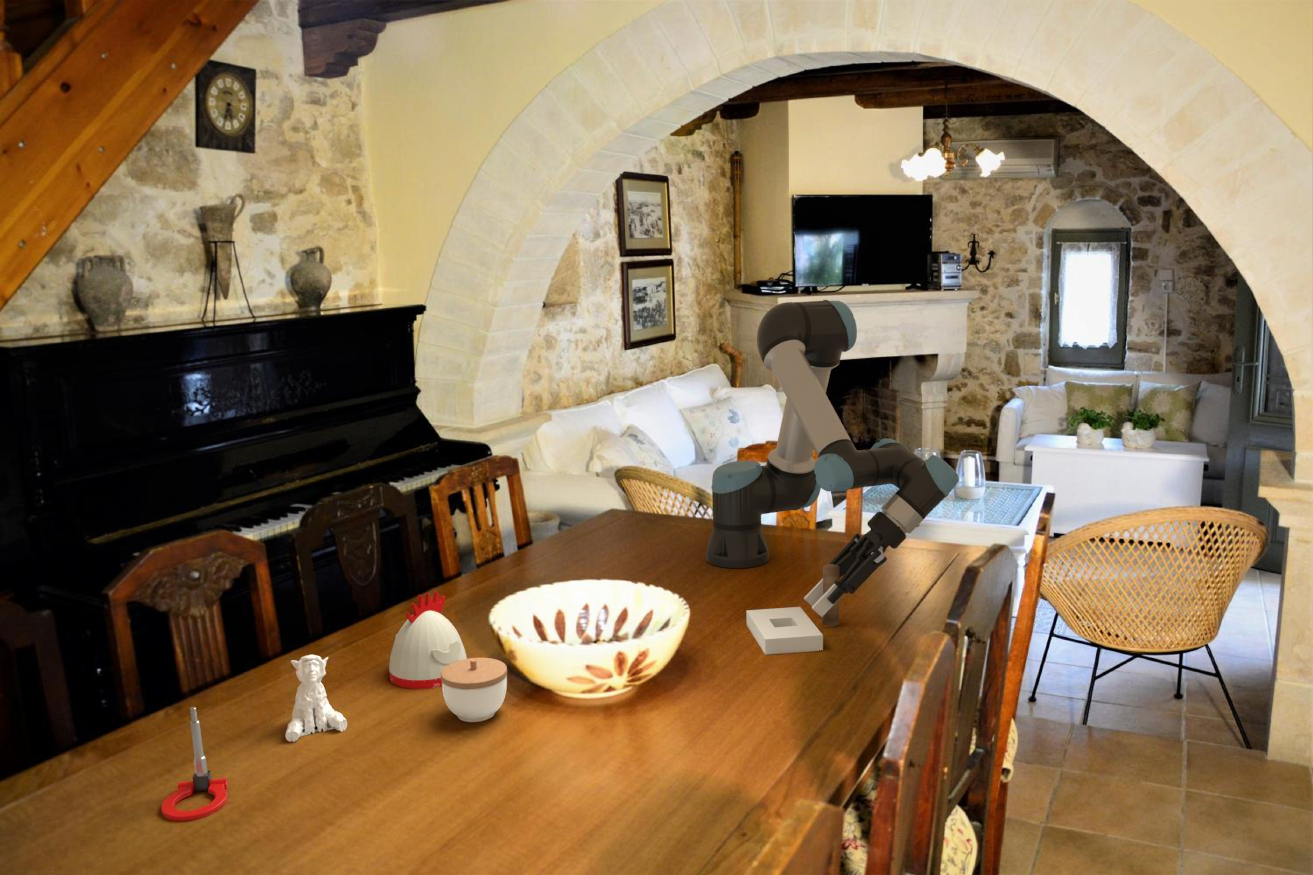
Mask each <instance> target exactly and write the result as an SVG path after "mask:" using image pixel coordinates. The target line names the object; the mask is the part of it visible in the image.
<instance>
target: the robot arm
mask: <svg viewBox="0 0 1313 875" xmlns="http://www.w3.org/2000/svg"><path fill="white" fill-rule="evenodd" d="M857 326H858V325H857V321H856V319H855V317H854V314H853V312H852V310H851V308H850V307H849V306H848V305H847V304H846V303H844V302H843V301H840V300H828V299H823V300H813V301H811V300H809V301H795V302H792V301H789V302H788V301H786V302H782V303H781V302H780V303H778V304H776V305H775V306H774V305H773V307H772V308H770V309H769V310H768V311H766V313H765V314H764V315H763V316H762V318H761V320H760V323H759V325H758V328H757V333H756V345H757V351H758V354H759V358H760V359H761V362H762V364H763V365H764V366H765V367H764V368H766V369H767V370H768V371H771V372H773V374H774V376H775V378H776V380H777V382H778V384H779V385H780V387H781V389H782V391H783V393H784V395H785V397H786V400H785V403H784V409H783V414H782V418H781V422H780V427H779V433H778V438H777V441H776V442H777V443H776V448H774V449H771V451H770V452H769V453H768V454H767V458H766V464H765V465H761V463H760V462H759V461H756V460H750V459H749V460H748V459H747V460H736V461H729V462H727V463H724V464H722V465H719V466H718V467H717V468H716V469H714V471H713V472H712V481H711V494H712V499H711V501H712V502H711V503H712V530H711V534H710V536H709V540H708V543H707V546H706V550H705V560H706V562H707V563H709V564H710V565H712V566H716V567H720V568H726V569H727V568H729V569H745V568H746V569H747V568H754V567H759V566H762V565H765V564H766V563H767V562H769V561H770V560H769V558H770V557H769V556H770V553H769V548H768V544H767V541H766V538H765V536H764V532H763V528H762V515H766V514H773V513H774V514H775V513H781V512H787V511H798V510H801V509H804V508H808V507H810V506H812V505H813V504H814V503H815V502H816V501H817V500H818V497H819V495H820V493H821V490H823V491H825V492H846V491H849V490H854V489H860V488H869V487H877V486H885V485H893V486H895V487H896V488H897V489H898V490H896V491H895V493H894V494H892V496H891V497H889V499H888V500H887V501H886V502H885V503H883V505H882V506H881V511H880V510H879V511H877V512H876V513H875V514H874V515H873V516H872V517H871V518H870V519H869V520H868V521H867V527H868V528H870V530H869V531H867V532H866V533H865V534H863V535H860V533H858V532H857V533H855V535H853V537H852V539H851V540H850V541H849V542H848V543H847V545H846V546H844V548H843V549H842V550H841V551H840V552H839V553H838V554H837V555H836V556H835V557H834V558H833V559H832V560H831V561H830V562H829V563H828V564H835V565H838V566H839V567H840V569H839V582H838V581H835V582H834V583H835V584H836V585H835V584H833V585H832V586H831V587H830V588H829V590H828V591H827V592H826V593H825V594H824V595H823V577H822V578H821V580H819V581H818V583H817V584H815V586H814V587H813V588H812V589H811V590H810V591H809V592H808V593H807V594H806V595H805V596H804V598H803V600H804V601H806V602H807V603H808V604H809V605H811V608H812V610H813V611H814V612H815V613H816V614H818V616H820V617H821V618H823V616H824V615H825V614H826V613H827V611H828V610H829V609H830V608H831V607H832V606H833V605H834V604H835V603H836V602H837V601H838V600H839V601H840V599H842V597H843V596H844V595H845V594H848V593H849V594H850V595H853V594H854V593H855V592H856V591H857V590H858V589H859V588H860V587H862V585H863V584H864V583H865V582H866V581H867V580H868V579H869V578H870V576H871V575H872V574H873V573H875V571H876V570H877V569H878V568H879V567H880V566H882V565H883V564H884V563H885V562H887V561H888V558H887V557H886V556H885V555H884V553H885V552H886V551H887V549H888V548H889V547H890V548H891V549H894V550H895V549H897V548H898V547H899V546H900V545H901V544H902V543H903V542H904V541H905V540H906V539H907V534H911V533H912V532H913V531H914V530H915V529H916V528H919V527H920V524H921V523H922V522H923V521H924V520H925V519H926V517H927V516H928V515H929V514H930V513H931V512H932V511H933V510H934V509H935V508H936V507H937V506H938V505H939V504H940V503H941V502H943V500H944V499H946V498H947V497H948V496H949V495H950V493H951V492H952V491H953V489H954V488H955V487H956V486H957V484H958V483H959V482H960V476H959V475H958V473H957V472H956V470H954V468H953V467H952V466H951V465H949V464H948V463H947V462H946V461H945V460H944V459H942V458H941V457H940V456H938V455H936V454H935V455H934V454H932V455H930V457H928V458H927V459H925V460H923V458H921V457H920V456H918V455H917V454H915V452H913V451H912V450H911V449H909V448H908V447H907V446H906V445H904V444H901V443H900V442H898V441H896V440H894V439H893V438H886V437H885V438H883V439H880V440H879V441H878V442H875V443H874V444H873V445H872V447H871V448H870V449H862V450H861V449H860V450H857V448H856V447H855V444H854V443H853V441H852V440H851V437H850V436H849V434H848V433H847V430H846V429H845V427H844V424H842V422H841V419H840V417H839V416H838V414H837V412H836V410H835V409H834V407H833V404H832V403H831V400H829V398H828V395H827V388H828V384H829V380H830V375H831V372H832V370H833V369H834V368H836V367H837V366H839V365H840V362H841V358H842V354H843V353H846V352H848V351H850V350H851V349H853V348H854V346H855V344H856V341H857V335H858V329H857V328H858V327H857ZM813 450H814V452H815V455H816V456H817V457H818V458H817V459H816V460H815V459H814V457H813V455H812V454H813Z"/></svg>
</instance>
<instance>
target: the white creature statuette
mask: <svg viewBox="0 0 1313 875" xmlns="http://www.w3.org/2000/svg"><path fill="white" fill-rule="evenodd" d="M328 659H329V656H327V657H325V658H323V659H322V657H321V656H319V655H316V654H309V655H304V656H301V657H300V659H298V660H293V659H291V660H290V663H291V664H292V665H293V668H295V669H296V670H295V674H296V677H297V678H298V681H299V682H300V685H298V687H297V689H296V690H297V691H296V695H295V697H294V698H295V701H294V702H295V703H294V705H293V709H292V714H291V715H292V718H291V720H290V722H288V724H287V728H286V730H285V735H284V736H285V739H286V740H287V741H288V742H293V743H295V742H296V741H298V740H299V738H300V737H305V736H309V735H311V733H312V734H315V733H316V732H319V733H322V731H323V732H326V731H330V730H336V731H339V732H341V733H342V732H343V731H346V729H347V727H348V721H347V719H346V717H344V715H343V714H342V713H341V712H339V711H337V710H335V709H334V708H333V707H332V705H331V704H330V702H329V700H328V698H327V696H328V695H327V690H326V689H325V687H324V684H323V683H322V682H321V681H322V679H323V677H325V676H326V675H327V672H326V666H327V661H328ZM316 727H317V729H316Z"/></svg>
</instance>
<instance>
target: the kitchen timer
mask: <svg viewBox="0 0 1313 875" xmlns="http://www.w3.org/2000/svg"><path fill="white" fill-rule="evenodd" d="M417 598H418V600H417V604H415V603H413V602H411V604H410V605H411V609H412V612H413V614H412V615H411V614H410V613H409V612H408V611H404V613H405V617H406V618H407V619H406V621H405V622H404V623H403V625H402V626H401V627H400V629H399V631H398V632H397V633H396V635H395V638H394V642H393V645H392V649H391V653H390V657H389V667H388V668H389V670H388V672H389V680H390V682H391V683H392V684H393V685H395V686H398V687H401V688H403V689H404V688H405V689H416V690H424V689H434V688H440V687H441V688H442V681H441V671H442V670H443V668H444V667H446V666H447V665H449V664H451V663H453V662H456V661H459V660H464V659H468V657H467V656H468V655H467V653H466V649H465V647H464V644H463V641H462V639H461V636H460V635H459V632H458V630H457V629H456V627H455V626H454V625H453V623H452V622H451V621H450V620H449V619H448V618H446V616H444V615H443V614H442V611H443V607H444V604H445V600H446V595H441V596H440V594H439V592H438V591H436V590H434V591H433V596H432V597H431V594H430V593H428V592H425V597H424V596H423V595H421V594H418V597H417Z"/></svg>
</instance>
